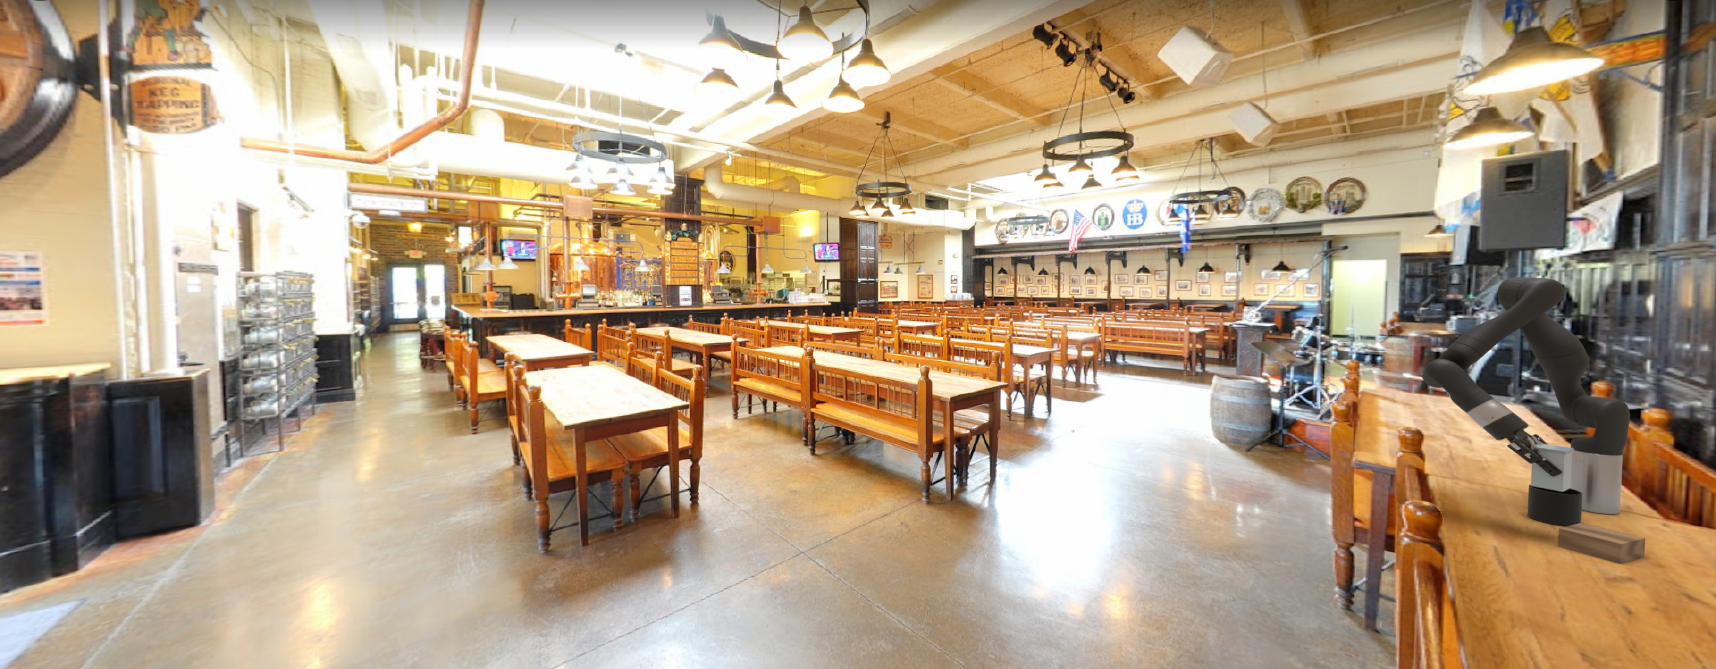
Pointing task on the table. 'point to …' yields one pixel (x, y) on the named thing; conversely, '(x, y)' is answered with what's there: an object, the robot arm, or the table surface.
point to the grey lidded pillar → (1558, 458)
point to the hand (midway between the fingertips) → (1562, 472)
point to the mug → (1555, 506)
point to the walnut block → (1601, 542)
